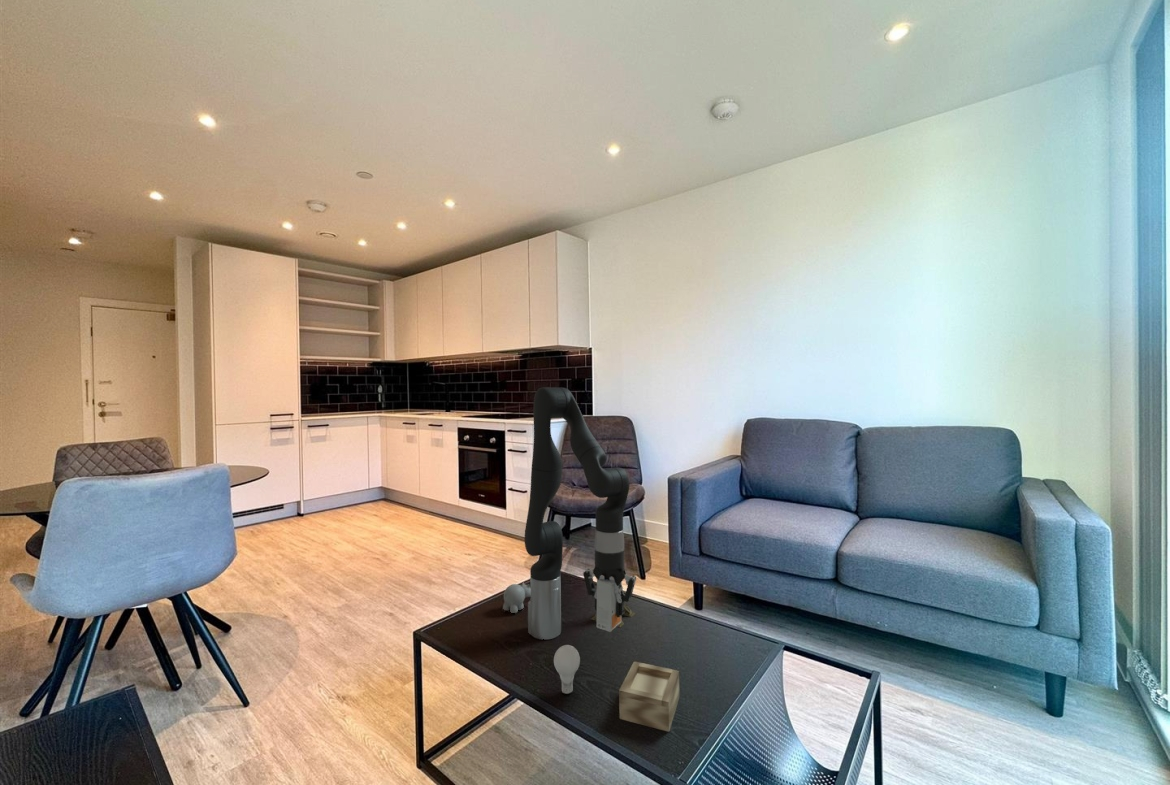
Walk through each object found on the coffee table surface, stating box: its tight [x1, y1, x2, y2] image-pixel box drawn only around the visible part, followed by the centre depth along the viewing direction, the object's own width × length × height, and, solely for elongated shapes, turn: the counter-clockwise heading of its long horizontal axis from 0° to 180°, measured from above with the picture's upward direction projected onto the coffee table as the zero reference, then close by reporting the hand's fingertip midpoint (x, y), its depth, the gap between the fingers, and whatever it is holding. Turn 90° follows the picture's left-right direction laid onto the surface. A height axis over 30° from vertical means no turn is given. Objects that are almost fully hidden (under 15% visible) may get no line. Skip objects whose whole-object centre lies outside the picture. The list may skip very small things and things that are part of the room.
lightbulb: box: [553, 644, 581, 695], centre depth 109 cm, size 6×6×11 cm
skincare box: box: [596, 579, 623, 633], centre depth 115 cm, size 6×4×12 cm
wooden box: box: [618, 661, 680, 733], centre depth 103 cm, size 11×12×6 cm
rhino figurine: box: [502, 581, 531, 614], centre depth 155 cm, size 7×12×8 cm, turn 140°
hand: (609, 613), depth 115 cm, fingers closed on skincare box, 4 cm apart
